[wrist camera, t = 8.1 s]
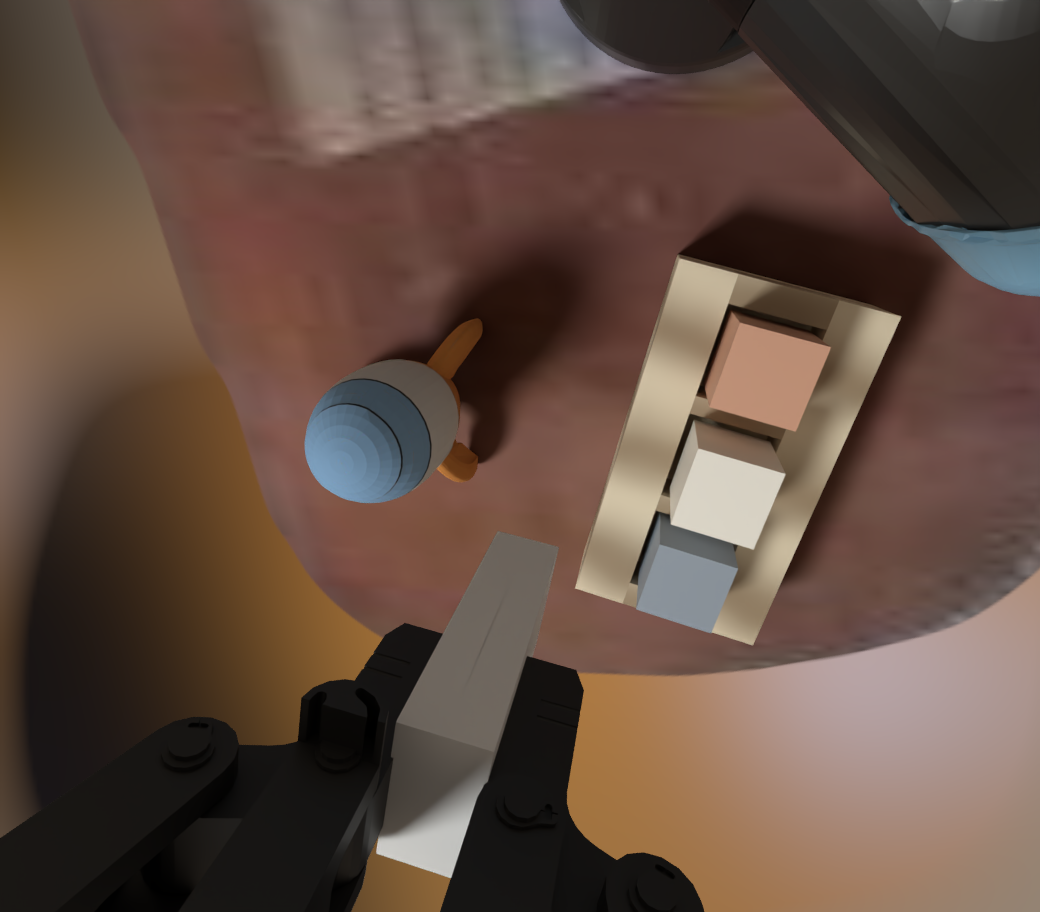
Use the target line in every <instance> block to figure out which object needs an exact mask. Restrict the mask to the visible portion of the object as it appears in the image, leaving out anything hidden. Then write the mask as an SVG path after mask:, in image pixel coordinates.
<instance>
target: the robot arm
mask: <svg viewBox="0 0 1040 912" xmlns="http://www.w3.org/2000/svg"><path fill="white" fill-rule="evenodd" d="M560 2H561V4H562V6H563V8H564V9H565V11H566V13H567V14H568V16H569V17H570V19H571V20H572V21H573V23H574V24H575V25H576V27H577V28H578V29H579V30H580V31H581V32H582V34H583V35H584V36H585V37H586V38H587V39H588V40H589V41H590V42H592V43H593V44H594V45H595V46H596V47H598V48H599V49H600V50H602V51H603V52H604V53H606V54H607V55H609V56H611V57H612V58H614V59H616V60H618V61H620V62H622V63H624V64H626V65H629V66H632V67H634V68H638V69H641V70H645V71H650V72H655V73H664V74H686V73H694V72H701V71H705V70H709V69H713V68H716V67H719V66H723V65H725V64H728V63H730V62H733V61H735V60H737V59H739V58H741V57H743V56H745V55H747V54H749V53H750V52H752V51H754V52H755V53H756V54H757V55H758V56H759V57H760V58H761V59H762V60H763V61H764V62H765V63H766V64H767V65H768V66H769V67H770V69H771V70H772V71H773V72H774V73H775V74H776V75H777V76H778V77H779V78H780V79H781V80H782V81H783V82H784V83H785V84H786V85H787V87H788V88H789V89H790V90H791V91H792V92H793V93H794V94H795V95H796V96H797V97H798V98H799V99H800V100H801V101H802V102H803V103H804V104H805V106H806V107H807V108H808V109H809V110H810V111H811V112H812V113H813V114H814V115H815V116H816V117H817V118H818V119H819V120H820V121H821V122H822V124H823V125H824V126H825V127H826V128H827V129H828V130H829V131H830V132H831V133H832V134H833V135H834V136H835V137H836V138H837V139H838V140H839V142H840V143H841V144H842V145H843V146H844V147H845V148H846V149H847V150H848V151H849V152H850V153H851V154H852V155H853V156H854V157H855V158H856V159H857V161H858V162H859V163H860V164H861V165H862V166H863V167H864V168H865V169H866V170H867V171H868V172H869V173H870V174H871V175H872V176H873V177H874V179H875V180H876V181H877V182H878V183H879V184H880V185H881V186H882V187H883V188H884V189H885V190H886V191H887V192H888V193H889V194H890V198H889V200H890V203H891V206H892V208H893V209H894V211H895V213H896V214H897V215H898V216H899V218H900V219H901V220H902V221H903V222H904V223H906V224H907V225H908V226H912V227H914V228H915V229H916V230H917V231H918V232H919V233H922V234H925V235H928V236H929V237H931V238H932V239H933V240H934V241H935V242H936V243H937V244H938V245H939V246H940V247H941V248H942V249H943V250H944V251H945V252H946V253H947V254H948V255H949V256H950V257H951V258H952V259H954V260H955V261H956V262H957V263H958V264H959V265H960V266H961V267H962V268H963V269H964V270H965V271H966V272H968V273H969V274H970V275H971V276H973V277H974V278H976V279H977V280H979V281H983V282H985V283H987V284H989V285H991V286H993V287H996V288H998V289H1000V290H1003V291H1008V292H1011V293H1014V294H1019V295H1029V296H1040V0H560ZM558 549H559V547H557V546H553V545H549V544H545V543H541V542H538V541H534V540H530V539H526V538H522V537H519V536H515V535H511V534H507V533H503V532H500V531H498V532H497V534H496V535H495V537H494V539H493V541H492V543H491V545H490V547H489V549H488V550H487V552H486V554H485V556H484V558H483V560H482V562H481V564H480V565H479V567H478V569H477V571H476V573H475V575H474V577H473V579H472V580H471V582H470V584H469V586H468V588H467V590H466V592H465V594H464V595H463V597H462V599H461V601H460V603H459V605H458V607H457V609H456V610H455V612H454V614H453V616H452V618H451V620H450V622H449V624H448V625H447V627H446V629H445V631H444V633H443V634H442V633H438V632H435V631H431V630H428V629H424V628H421V627H417V626H414V625H410V624H407V623H404V624H403V625H401V626H399V627H398V628H396V629H394V630H393V631H391V632H389V633H388V634H386V635H385V636H384V638H383V639H382V641H381V642H380V644H379V645H378V647H377V648H376V650H375V651H374V654H373V655H372V656H371V657H370V659H369V660H368V662H367V663H366V664H365V667H364V669H363V670H362V671H361V672H360V674H359V675H358V676H357V678H356V680H355V681H353V680H346V679H344V680H336V681H329V682H326V683H324V684H321V685H318V686H316V687H314V688H312V689H311V690H310V691H309V692H308V693H306V694H305V695H304V696H303V697H302V699H301V711H300V723H299V735H298V741H297V742H294V743H290V744H286V745H273V746H262V745H239V743H238V740H237V735H236V732H235V731H234V730H233V729H232V728H231V727H230V726H229V725H228V724H227V723H225V722H222V721H219V720H217V719H214V718H208V717H191V718H187V719H182V720H178V721H174V722H172V723H170V724H168V725H166V726H164V727H162V728H160V729H158V730H157V731H155V732H154V733H152V734H151V735H149V736H148V737H146V738H145V739H144V740H142V741H141V742H139V743H138V744H136V745H135V746H133V747H132V748H130V749H129V750H128V751H126V752H125V753H124V754H122V755H120V756H119V757H117V758H116V759H115V760H113V761H112V762H110V763H109V764H107V765H106V766H104V767H103V768H101V769H100V770H99V771H97V772H96V773H94V774H93V775H91V776H90V777H88V778H87V779H85V780H84V781H83V782H81V783H80V784H78V785H77V786H75V787H74V788H73V789H71V790H70V791H68V792H67V793H65V794H64V795H62V796H61V797H59V798H58V799H56V800H55V801H54V802H52V803H51V804H49V805H48V806H46V807H45V808H44V809H42V810H41V811H39V812H38V813H36V814H35V815H33V816H32V817H30V818H29V819H27V820H26V821H25V822H23V823H22V824H20V825H19V826H17V827H16V828H14V829H13V830H12V831H10V832H9V833H7V834H6V835H4V836H3V837H1V838H0V912H351V910H352V908H353V906H354V904H355V902H356V899H357V897H358V895H359V892H360V890H361V888H362V885H363V881H364V876H365V872H366V865H367V860H368V857H369V855H370V853H371V851H372V849H373V846H374V844H375V842H376V840H377V838H378V836H379V838H378V845H377V854H380V855H383V856H386V857H389V858H392V859H395V860H398V861H401V862H404V863H407V864H410V865H413V866H416V867H419V868H422V869H425V870H428V871H431V872H434V873H437V874H440V875H443V876H446V877H449V878H451V880H450V883H449V886H448V889H447V892H446V895H445V898H444V902H443V904H442V907H441V911H440V912H704V909H703V905H702V903H701V900H700V898H699V896H698V894H697V892H696V890H695V888H694V885H693V884H692V883H691V882H690V881H689V879H688V878H687V877H686V876H685V875H684V874H683V873H682V871H681V870H680V869H679V868H677V867H676V866H674V865H673V864H671V863H669V862H668V861H666V860H665V859H663V858H662V857H658V856H654V855H651V854H647V853H633V854H626V855H625V856H623V857H622V858H620V859H618V860H616V859H614V858H613V857H611V856H609V855H608V854H606V853H605V852H604V851H602V850H600V849H599V848H597V847H596V846H595V845H594V844H592V843H591V842H590V841H589V840H588V839H586V838H585V837H584V836H583V834H582V833H581V832H580V831H579V830H578V828H577V827H576V826H575V824H574V822H573V820H572V818H571V816H570V814H569V810H568V806H567V789H568V782H569V776H570V770H571V764H572V758H573V752H574V746H575V740H576V734H577V728H578V722H579V716H580V710H581V704H582V698H583V692H584V690H583V687H582V684H581V682H580V679H579V676H578V674H577V671H576V670H574V669H571V668H567V667H564V666H560V665H557V664H553V663H550V662H546V661H543V660H539V659H536V658H532V656H533V653H534V649H535V646H536V643H537V639H538V634H539V630H540V626H541V622H542V617H543V613H544V609H545V605H546V600H547V596H548V592H549V588H550V583H551V579H552V575H553V570H554V566H555V562H556V558H557V553H558Z"/></svg>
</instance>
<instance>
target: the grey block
mask: <svg viewBox="0 0 1040 912" xmlns="http://www.w3.org/2000/svg"><path fill="white" fill-rule="evenodd" d="M737 570H738V565H737V560H736V556H735V551H734V546H733V543H730V542H727V541H723V540H720V539H717V538H714V537H710V536H707V535H704V534H701V533H697V532H694V531H691V530H687V529H684V528H681V527H678V526H674V525H671V518H670V515H669V514H666V513H663V512H658V514H657V517H656V520H655V523H654V526H653V529H652V531H651V534H650V537H649V540H648V543H647V546H646V548H645V551H644V554H643V557H642V560H641V562H640V565H639V577H638V591H637V604H636V609H637V610H640V611H643V612H646V613H649V614H652V615H655V616H658V617H662V618H665V619H668V620H671V621H674V622H677V623H680V624H683V625H686V626H690V627H693V628H696V629H699V630H702V631H705V632H708V633H711V632H712V630H713V628H714V625H715V623H716V620H717V618H718V616H719V613H720V611H721V609H722V606H723V604H724V601H725V599H726V597H727V594H728V592H729V589H730V587H731V585H732V582H733V580H734V578H735V575H736V573H737Z"/></svg>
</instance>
